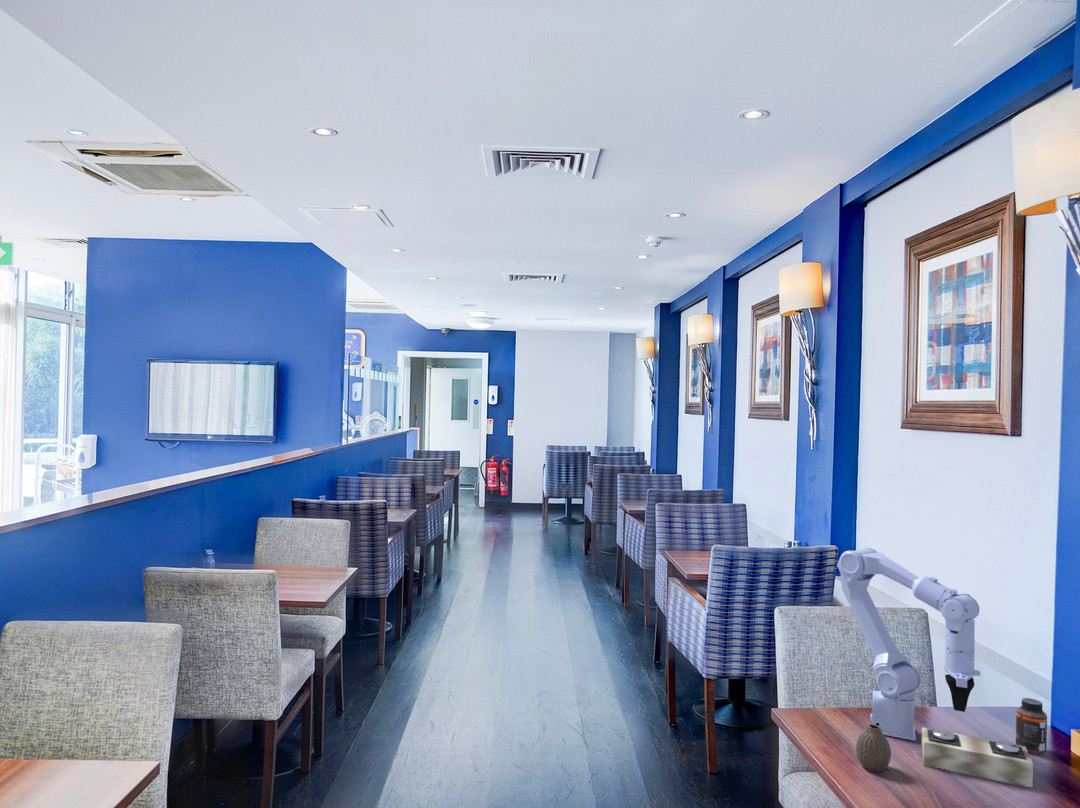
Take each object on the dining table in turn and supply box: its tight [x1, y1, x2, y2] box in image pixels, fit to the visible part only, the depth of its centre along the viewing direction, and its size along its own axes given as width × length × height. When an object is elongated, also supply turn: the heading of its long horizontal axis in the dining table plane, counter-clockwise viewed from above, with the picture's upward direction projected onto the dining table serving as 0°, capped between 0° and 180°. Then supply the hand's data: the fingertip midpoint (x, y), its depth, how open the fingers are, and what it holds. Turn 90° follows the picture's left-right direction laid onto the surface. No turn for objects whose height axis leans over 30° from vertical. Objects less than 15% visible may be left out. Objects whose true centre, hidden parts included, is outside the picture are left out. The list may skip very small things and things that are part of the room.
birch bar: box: [921, 726, 1034, 789], centre depth 161 cm, size 20×9×5 cm, turn 65°
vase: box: [855, 723, 892, 772], centre depth 159 cm, size 7×7×9 cm
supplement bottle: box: [1015, 697, 1048, 756], centre depth 171 cm, size 6×6×11 cm
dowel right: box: [996, 740, 1019, 754], centre depth 158 cm, size 4×4×5 cm
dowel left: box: [933, 729, 955, 741], centre depth 163 cm, size 4×4×5 cm
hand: (959, 710), depth 166 cm, fingers closed
